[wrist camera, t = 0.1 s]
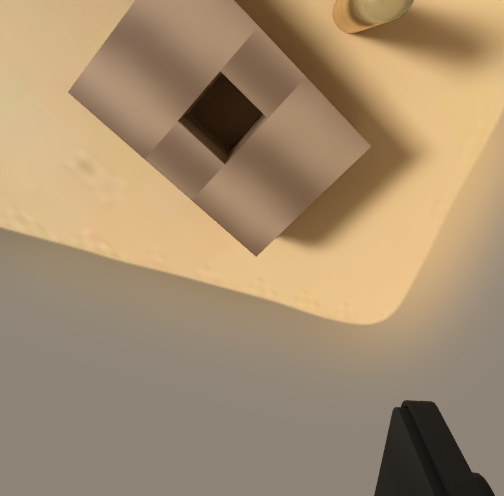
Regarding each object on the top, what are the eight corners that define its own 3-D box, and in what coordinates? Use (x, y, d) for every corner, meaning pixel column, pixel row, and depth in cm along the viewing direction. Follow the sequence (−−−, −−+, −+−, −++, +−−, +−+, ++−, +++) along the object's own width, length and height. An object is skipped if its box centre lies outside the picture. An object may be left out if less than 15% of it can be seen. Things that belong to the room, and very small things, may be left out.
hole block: (192, -38, 32) (178, -59, 27) (354, 134, 37) (371, 146, 31) (97, 87, 36) (67, 92, 30) (256, 230, 40) (256, 256, 35)
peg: (354, -21, 33) (392, -55, 23) (380, 10, 33) (427, -11, 24) (324, 12, 34) (350, -8, 24) (350, 42, 34) (385, 33, 25)
